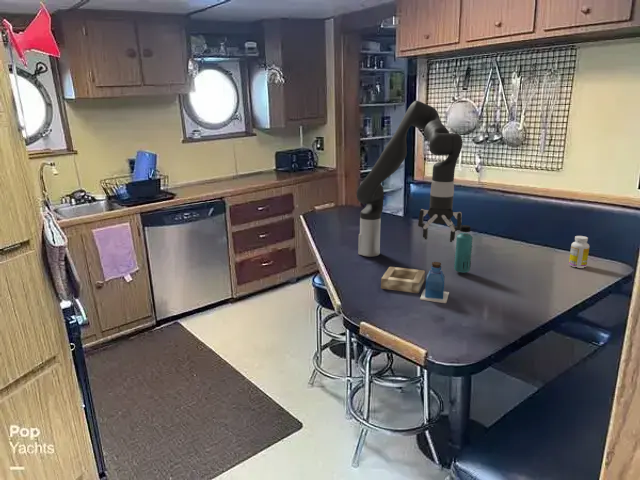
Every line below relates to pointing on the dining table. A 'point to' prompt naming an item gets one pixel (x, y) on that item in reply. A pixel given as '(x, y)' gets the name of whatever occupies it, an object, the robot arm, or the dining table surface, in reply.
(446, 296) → the coaster
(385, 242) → the dining table surface
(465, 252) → the beverage bottle
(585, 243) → the supplement bottle
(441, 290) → the perfume bottle
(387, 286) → the pocket block
